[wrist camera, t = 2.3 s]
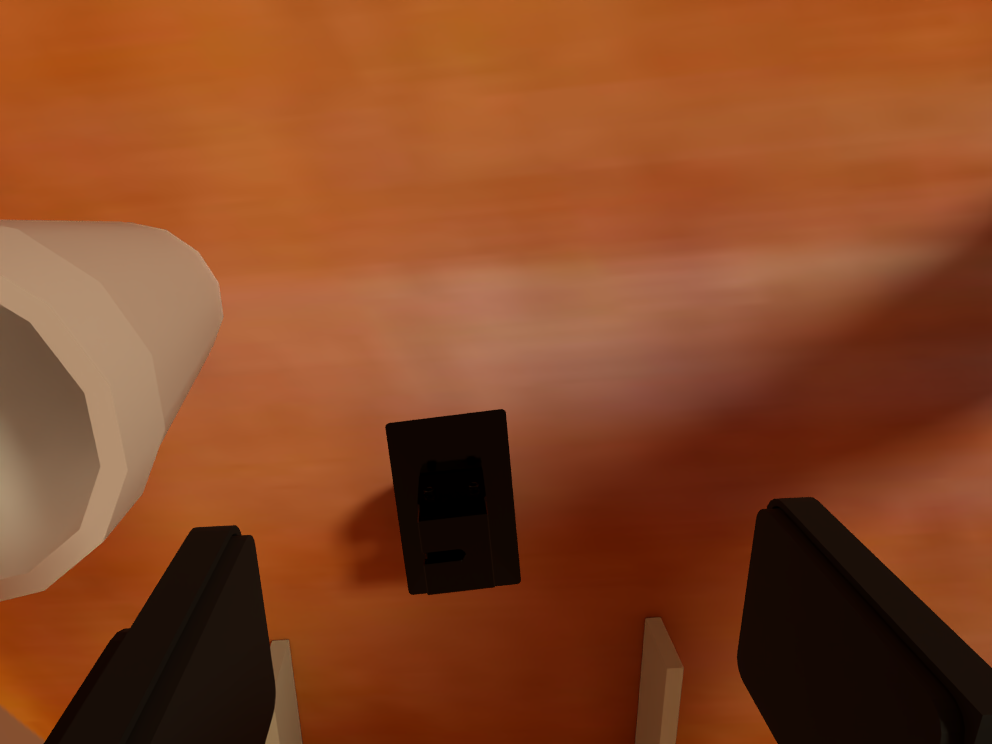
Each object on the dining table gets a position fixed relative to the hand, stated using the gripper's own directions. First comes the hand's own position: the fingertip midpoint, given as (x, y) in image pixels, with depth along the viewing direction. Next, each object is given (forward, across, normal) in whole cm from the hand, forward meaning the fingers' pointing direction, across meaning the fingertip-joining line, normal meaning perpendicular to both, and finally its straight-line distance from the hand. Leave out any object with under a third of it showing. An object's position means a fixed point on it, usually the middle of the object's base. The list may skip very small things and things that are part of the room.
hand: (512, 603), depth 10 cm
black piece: (+21, +1, +10) cm, 23 cm away
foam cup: (+20, +13, 0) cm, 24 cm away
